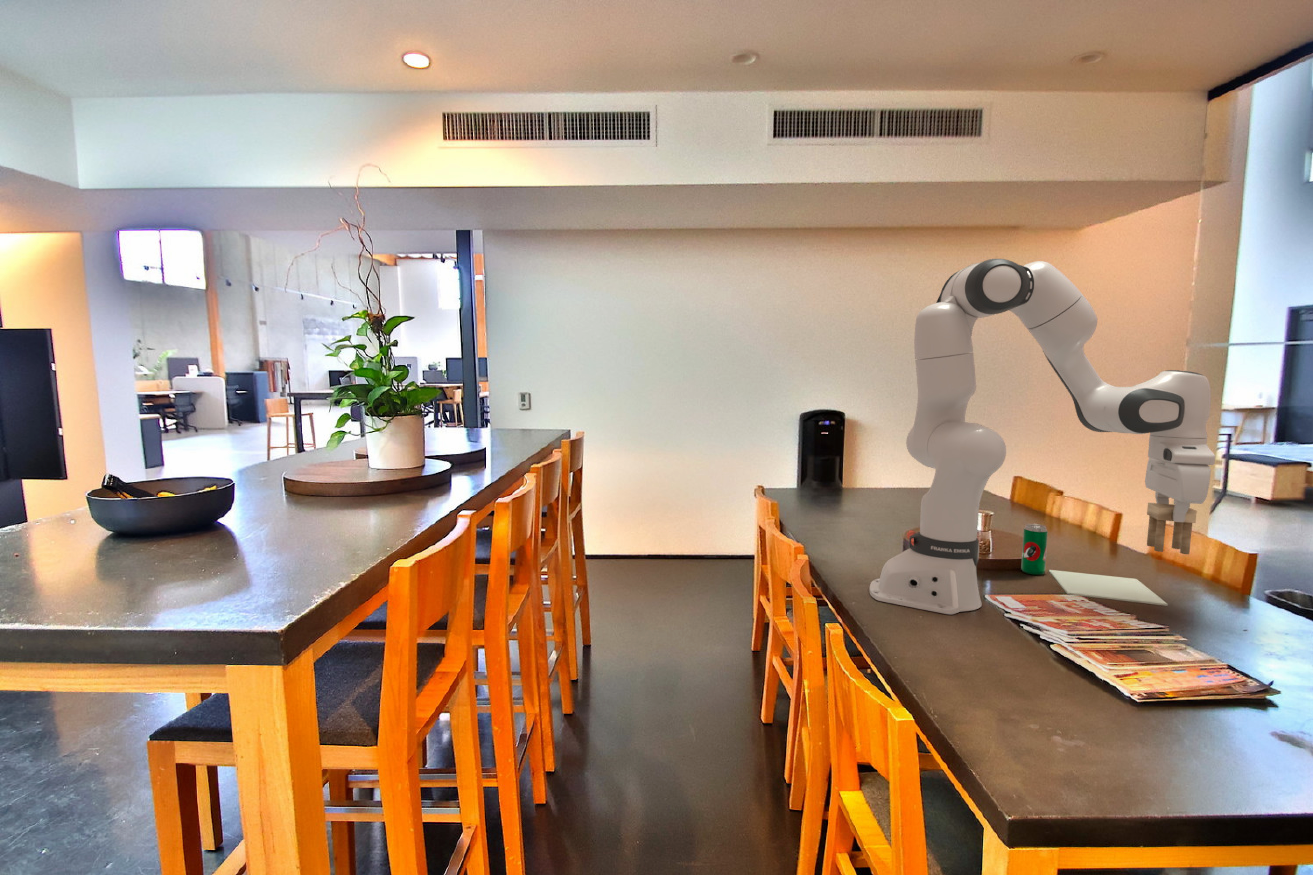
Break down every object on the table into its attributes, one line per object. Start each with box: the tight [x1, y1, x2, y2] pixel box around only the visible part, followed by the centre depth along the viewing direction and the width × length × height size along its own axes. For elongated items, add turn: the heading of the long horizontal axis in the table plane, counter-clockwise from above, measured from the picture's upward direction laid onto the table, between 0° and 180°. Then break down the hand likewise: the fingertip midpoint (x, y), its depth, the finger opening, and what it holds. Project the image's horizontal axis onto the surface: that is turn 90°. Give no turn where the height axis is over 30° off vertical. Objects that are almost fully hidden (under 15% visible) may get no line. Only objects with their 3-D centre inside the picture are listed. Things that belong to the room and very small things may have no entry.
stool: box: [1146, 502, 1197, 555], centre depth 122 cm, size 6×6×9 cm
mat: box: [1048, 569, 1169, 607], centre depth 138 cm, size 18×18×1 cm
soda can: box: [1020, 523, 1049, 576], centre depth 148 cm, size 5×5×12 cm
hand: (1170, 517), depth 122 cm, fingers closed on stool, 6 cm apart
